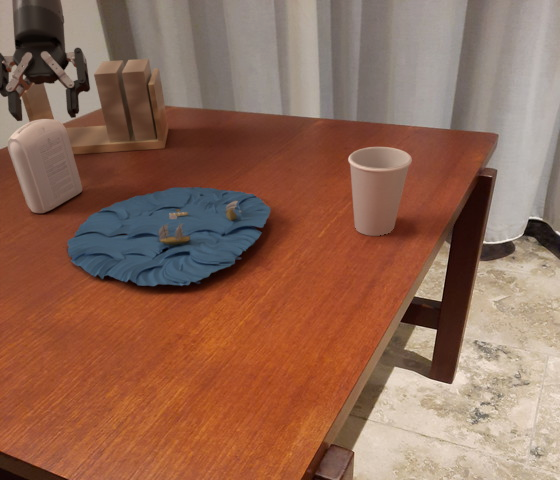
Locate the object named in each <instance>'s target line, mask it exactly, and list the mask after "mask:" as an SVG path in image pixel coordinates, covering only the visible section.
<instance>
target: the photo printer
mask: <svg viewBox="0 0 560 480" xmlns="http://www.w3.org/2000/svg"><path fill="white" fill-rule="evenodd" d="M66 128H67V127H65V125H64V124H63V122H61V121H60V120H58V119H54V120H53V119H39V120H35V121H32V122H27V123H26V124H23V125H21V127H19V128H18V129H16V130H15V131H13V133H12V134H11V135H10V137H9V138H8V140H7V142H6V143H7V150H8V153H9V156H10V159H11V162H12V166H13V168H14V171H15V175H16V177H17V180H18V182H19V183H18V184H19V186H20V189H21V192H22V195H23V197H24V199H25V204H26V206H27V208H28V209H29V210H30V211H31V212H32V213H35V214H46V213H48V212H49V211H52V210H54V209H56V208H57V207H59V206H61V205H62V204H64V203H66V202H67V201H69V200H71V199H72V198H74V197H77V195H79V194H80V193H82V192H83V184H82V181H81V177H80V174H79V169H78V167H77V162H76V159H75V154H73V151H72V148H71V144H70V140H69V137H68V133H67V130H66Z"/></svg>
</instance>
